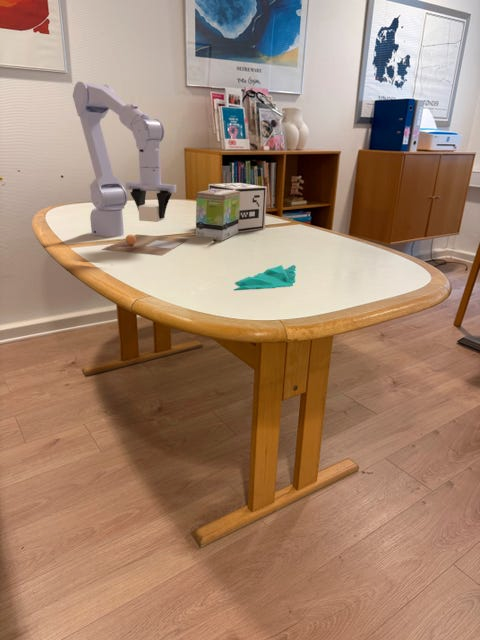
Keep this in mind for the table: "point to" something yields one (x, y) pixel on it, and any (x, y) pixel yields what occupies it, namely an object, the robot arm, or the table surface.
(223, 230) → the tea box
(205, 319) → the table surface
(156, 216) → the cream cube
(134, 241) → the orange ball
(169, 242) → the board
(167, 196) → the robot arm
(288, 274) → the cloth
